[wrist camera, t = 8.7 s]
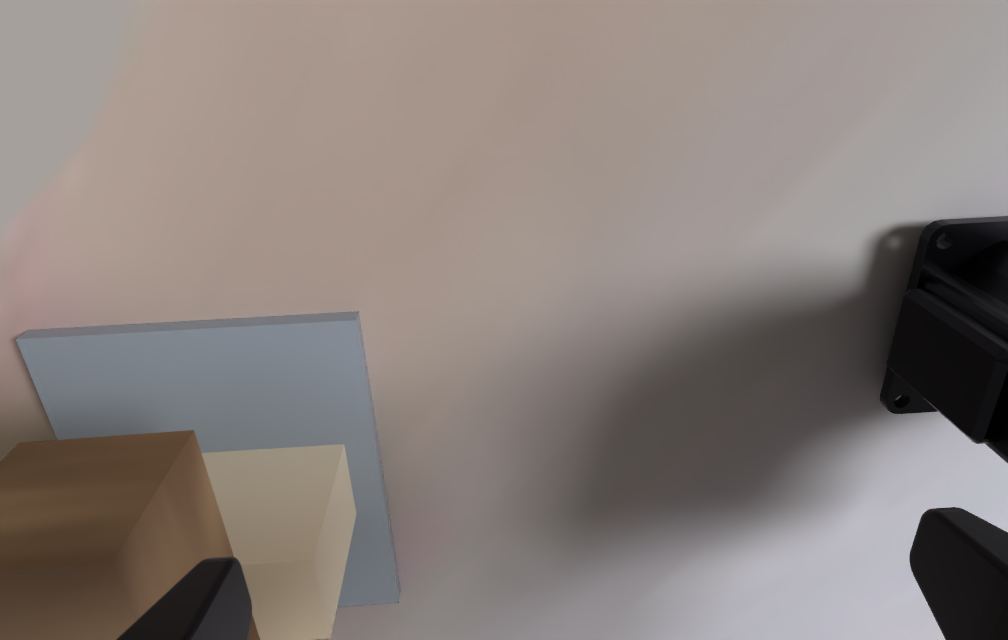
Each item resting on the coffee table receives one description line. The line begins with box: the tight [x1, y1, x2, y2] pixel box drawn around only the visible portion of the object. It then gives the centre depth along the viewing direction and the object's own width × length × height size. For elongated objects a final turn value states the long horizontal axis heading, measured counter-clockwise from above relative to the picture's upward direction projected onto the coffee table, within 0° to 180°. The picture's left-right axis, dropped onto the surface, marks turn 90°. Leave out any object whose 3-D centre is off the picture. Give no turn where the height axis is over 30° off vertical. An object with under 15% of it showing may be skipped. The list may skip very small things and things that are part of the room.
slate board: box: [16, 311, 400, 640], centre depth 21 cm, size 10×12×6 cm
